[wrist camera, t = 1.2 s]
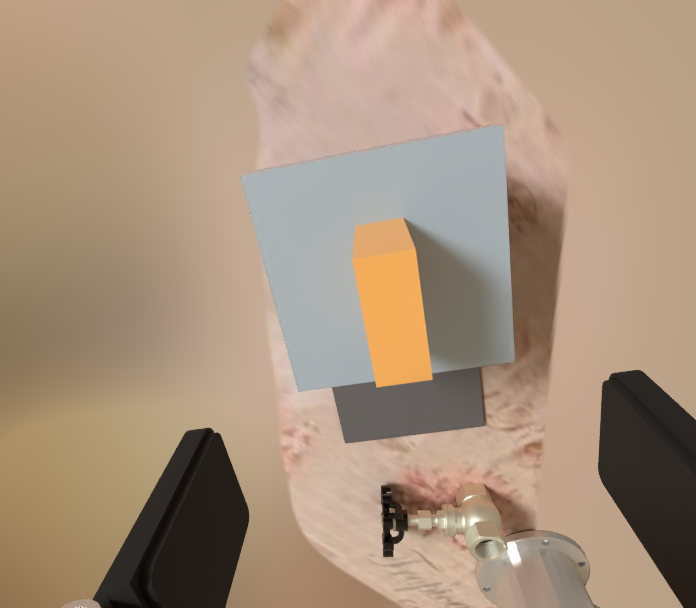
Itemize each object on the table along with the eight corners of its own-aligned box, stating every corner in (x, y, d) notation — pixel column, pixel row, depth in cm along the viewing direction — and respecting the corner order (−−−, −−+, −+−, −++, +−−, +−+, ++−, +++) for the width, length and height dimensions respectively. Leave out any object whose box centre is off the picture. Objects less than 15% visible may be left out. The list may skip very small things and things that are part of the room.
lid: (503, 344, 27) (556, 428, 20) (303, 372, 29) (281, 462, 21) (491, 124, 23) (555, 126, 15) (250, 171, 24) (198, 194, 16)
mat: (483, 423, 44) (484, 426, 43) (345, 440, 45) (345, 443, 45) (472, 294, 38) (473, 296, 38) (316, 318, 40) (316, 320, 39)
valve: (494, 470, 46) (380, 471, 47) (514, 524, 40) (382, 524, 40) (489, 516, 49) (381, 516, 49) (507, 573, 42) (383, 572, 43)
